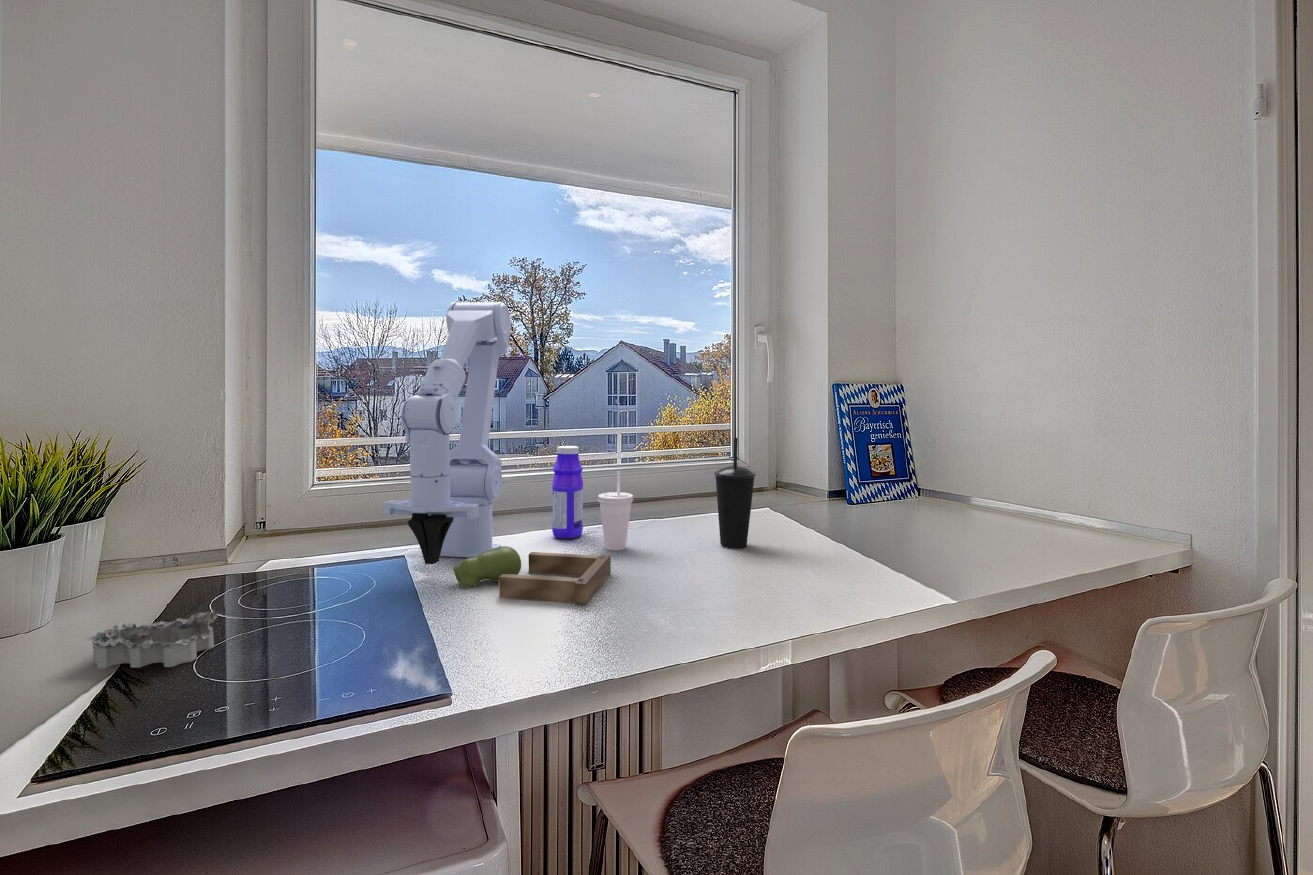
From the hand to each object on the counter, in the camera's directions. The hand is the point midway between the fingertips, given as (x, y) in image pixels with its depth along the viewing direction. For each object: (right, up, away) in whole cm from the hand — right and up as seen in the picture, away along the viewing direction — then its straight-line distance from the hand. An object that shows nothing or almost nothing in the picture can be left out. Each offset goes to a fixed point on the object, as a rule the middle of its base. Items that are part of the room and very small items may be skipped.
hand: (432, 562), depth 105 cm
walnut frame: (+19, -3, -3) cm, 20 cm away
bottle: (+17, 0, +28) cm, 33 cm away
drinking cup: (+49, -1, +22) cm, 53 cm away
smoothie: (+27, -1, +19) cm, 33 cm away
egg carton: (-21, -6, -29) cm, 36 cm away
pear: (+9, -3, -1) cm, 9 cm away
